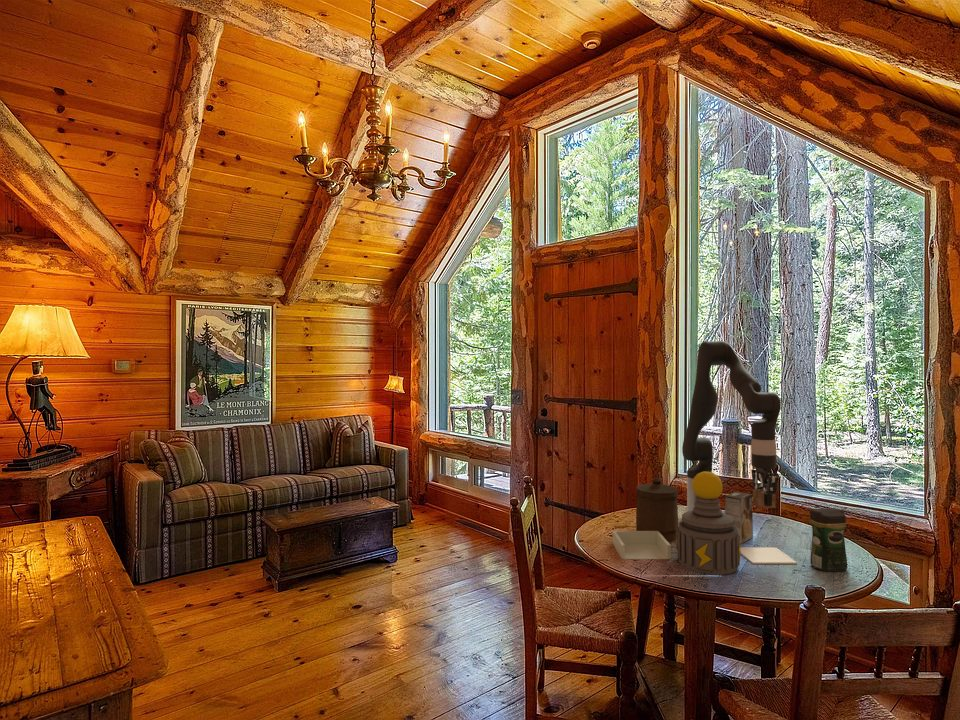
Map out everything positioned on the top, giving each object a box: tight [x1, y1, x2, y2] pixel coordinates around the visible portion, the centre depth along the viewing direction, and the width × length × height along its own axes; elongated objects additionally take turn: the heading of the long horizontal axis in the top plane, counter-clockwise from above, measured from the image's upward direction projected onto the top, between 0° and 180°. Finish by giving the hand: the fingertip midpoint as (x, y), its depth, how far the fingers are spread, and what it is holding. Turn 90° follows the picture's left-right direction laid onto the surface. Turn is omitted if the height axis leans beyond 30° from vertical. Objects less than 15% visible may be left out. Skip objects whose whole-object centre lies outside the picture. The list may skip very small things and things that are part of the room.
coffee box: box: [724, 491, 754, 544], centre depth 206 cm, size 9×6×16 cm
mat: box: [740, 547, 798, 565], centre depth 188 cm, size 14×14×1 cm
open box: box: [612, 530, 672, 560], centre depth 193 cm, size 15×16×5 cm
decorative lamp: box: [675, 471, 741, 576], centre depth 180 cm, size 19×19×30 cm
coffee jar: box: [809, 507, 848, 572], centre depth 177 cm, size 10×8×19 cm
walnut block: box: [752, 488, 776, 509], centre depth 187 cm, size 5×5×5 cm
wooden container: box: [635, 476, 679, 543], centre depth 209 cm, size 15×15×22 cm
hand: (764, 503), depth 188 cm, fingers closed on walnut block, 5 cm apart
